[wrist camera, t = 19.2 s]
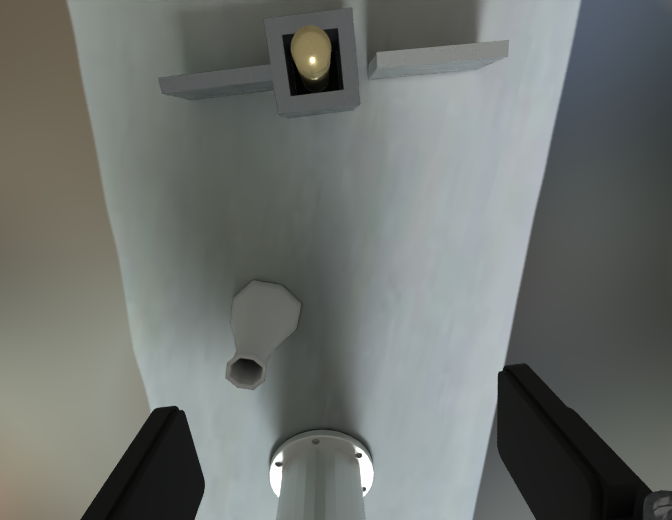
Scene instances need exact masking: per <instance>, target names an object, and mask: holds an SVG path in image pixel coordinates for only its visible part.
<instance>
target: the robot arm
mask: <svg viewBox="0 0 672 520" xmlns="http://www.w3.org/2000/svg"><path fill="white" fill-rule="evenodd" d="M497 447H498V451H499V454H500V457H501V459H502V461H503V462H504V464H505V466H506V468H507V470H508V471H509V473H510V475H511V477H512V478H513V480H514V482H515V484H516V485H517V487H518V489H519V490H520V492H521V494H522V496H523V498H524V499H525V501H526V502H527V504H528V506H529V508H530V510H531V512H532V513H533V515H534V517H535V518H536V520H672V491H667V490H660V491H655V492H652V491H651V490H650V489H649V488H648V486H646V484H645V483H644V482H643V481H642V480H641V479H640V478H639V477H638V476H637V475H636V474H635V473H634V472H633V471H632V470H631V469H630V468H629V467H628V466H627V465H626V464H625V463H624V462H623V460H621V458H620V457H619V456H618V455H617V454H616V453H615V452H614V451H613V450H612V449H611V448H610V447H609V446H608V445H607V444H606V443H605V442H604V441H603V440H602V439H601V438H600V437H599V436H598V434H597V433H596V432H595V431H594V430H593V429H592V428H591V427H590V426H589V425H588V424H587V423H586V422H585V421H584V420H583V419H582V418H581V417H580V416H579V415H578V414H577V413H576V412H575V411H574V410H572V409H571V408H569V407H567V406H566V405H565V404H564V403H563V402H562V401H561V400H560V399H559V398H558V397H557V396H556V395H555V393H554V392H553V391H552V390H551V389H550V388H549V387H548V386H547V385H546V384H545V383H544V382H543V381H542V380H541V379H540V378H539V376H537V374H536V373H535V372H534V371H533V370H532V369H531V368H530V367H529V366H528V365H527V364H524V363H523V364H514V365H507V366H504V368H503V371H500V372H499V373H498V418H497ZM373 478H374V469H373V462H372V459H371V456H370V454H369V452H368V451H367V449H366V448H365V447H364V446H363V445H362V444H361V443H360V442H359V441H357V440H356V439H354V438H353V437H351V436H349V435H346V434H344V433H341V432H337V431H332V430H312V431H308V432H304V433H301V434H298V435H296V436H293V437H292V438H290V439H288V440H287V441H285V442H284V443H283V444H282V445H281V446H280V447H279V448H278V449H277V451H276V452H275V453H274V455H273V458H272V460H271V464H270V470H269V480H270V484H271V487H272V488H273V490H274V492H275V493H276V495H277V496H278V497H279V501H278V509H277V517H276V520H366V517H365V508H364V498H363V497H364V496H365V495H366V494H367V492H368V491H369V489H370V487H371V485H372V482H373ZM204 489H205V481H204V477H203V473H202V470H201V466H200V463H199V460H198V456H197V453H196V449H195V446H194V442H193V439H192V435H191V432H190V429H189V425H188V422H187V418H186V415H185V412H184V411H183V410H179V408H178V407H177V406H169V407H161V408H156V409H154V410H153V411H152V413H151V414H150V416H149V418H148V419H147V421H146V422H145V424H144V425H143V426H142V428H141V430H140V431H139V433H138V434H137V436H136V437H135V439H134V440H133V441H132V443H131V444H130V446H129V447H128V449H127V450H126V452H125V453H124V455H123V456H122V458H121V460H120V461H119V463H118V464H117V466H116V467H115V468H114V470H113V471H112V473H111V474H110V476H109V478H108V479H107V481H106V482H105V483H104V485H103V486H102V488H101V490H100V491H99V493H98V494H97V495H96V497H95V498H94V500H93V501H92V503H91V505H90V506H89V507H88V509H87V510H86V512H85V514H84V515H83V516H82V518H81V520H194V519H195V517H196V514H197V511H198V508H199V505H200V502H201V500H202V497H203V494H204Z"/></svg>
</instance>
